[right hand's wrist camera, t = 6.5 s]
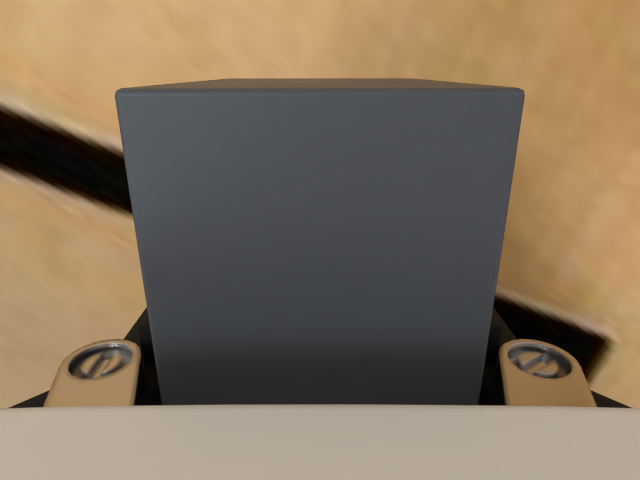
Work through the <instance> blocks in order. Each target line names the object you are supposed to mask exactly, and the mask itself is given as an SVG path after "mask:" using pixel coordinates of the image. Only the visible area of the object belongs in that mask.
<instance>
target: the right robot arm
mask: <svg viewBox="0 0 640 480" xmlns="http://www.w3.org/2000/svg"><path fill="white" fill-rule="evenodd" d="M0 480H640V409H637V408H631V407H628V406H626V405H624V404H621V403H619V402H617V401H614V400H612V399H610V398H607V397H605V396H603V395H600V394H598V393H596V392H593V391H591V390H590V388H589V386H588V384H587V381H586V379H585V376H584V374H583V371H582V369H581V366H580V365H579V363H578V362H577V360H576V359H575V358H574V357H572V356H571V355H570V354H569V353H568V352H566V351H564V350H562V349H560V348H559V347H557V346H554V345H551V344H548V343H546V342H541V341H537V340H528V339H519V340H517V339H516V338H515V336H514V335H513V334H512V332H511V331H510V329H509V328H508V327H507V325H506V324H505V322H504V321H503V320H502V318H501V317H500V316H499V314H498V313H497V311H496V310H495V309H494V307H493V310H492V317H491V324H490V330H489V337H488V344H487V350H486V357H485V364H484V370H483V377H482V384H481V390H480V397H479V404H478V405H373V404H290V405H162V402H161V395H160V389H159V382H158V376H157V369H156V363H155V356H154V349H153V343H152V336H151V330H150V323H149V316H148V310H147V308H146V309H145V310H144V312H143V313H142V315H141V316H140V317H139V319H138V320H137V322H136V323H135V324H134V326H133V327H132V328H131V330H130V331H129V333H128V334H127V335H126V337H125V338H124V340H121V339H112V340H103V341H99V342H94V343H92V344H89V345H86V346H83V347H81V348H80V349H78V350H76V351H74V352H72V353H71V354H70V355H69V356H68V357H66V358H65V359H64V360H63V362H62V363H61V365H60V366H59V369H58V371H57V374H56V376H55V379H54V381H53V384H52V386H51V388H50V390H49V391H47V392H45V393H42V394H40V395H38V396H35V397H33V398H31V399H28V400H26V401H24V402H21V403H19V404H17V405H14V406H12V407H10V408H4V409H0Z"/></svg>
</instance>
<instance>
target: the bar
mask: <svg viewBox="0 0 640 480" xmlns="http://www.w3.org/2000/svg"><path fill="white" fill-rule="evenodd" d="M524 97H525V95H524V91H523V90H522V89H519V88H513V87H501V86H490V85H479V84H467V83H456V82H445V81H433V80H422V79H220V80H209V81H198V82H187V83H176V84H165V85H154V86H143V87H131V88H121V89H119V90H117V91H116V93H115V99H116V106H117V112H118V119H119V126H120V132H121V139H122V145H123V152H124V159H125V165H126V172H127V178H128V185H129V191H130V198H131V205H132V211H133V218H134V224H135V231H136V237H137V244H138V251H139V257H140V264H141V270H142V277H143V284H144V290H145V297H146V303H147V310H148V316H149V323H150V330H151V336H152V343H153V349H154V356H155V363H156V369H157V376H158V382H159V389H160V395H161V402H162V405H290V404H373V405H478V404H479V397H480V390H481V384H482V377H483V370H484V364H485V357H486V350H487V344H488V337H489V330H490V324H491V317H492V310H493V304H494V297H495V290H496V284H497V277H498V270H499V264H500V257H501V250H502V244H503V237H504V230H505V224H506V217H507V210H508V203H509V197H510V190H511V183H512V177H513V170H514V163H515V157H516V150H517V143H518V137H519V130H520V123H521V117H522V110H523V103H524Z"/></svg>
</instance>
